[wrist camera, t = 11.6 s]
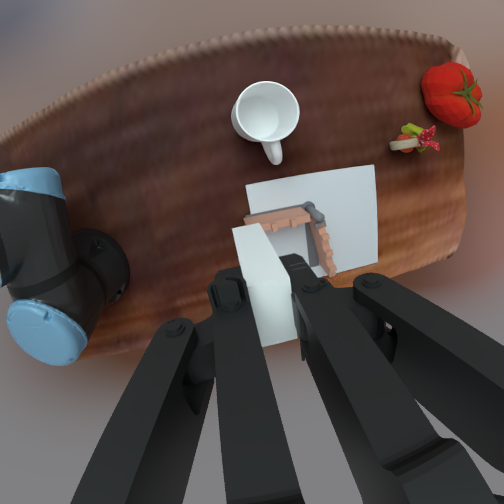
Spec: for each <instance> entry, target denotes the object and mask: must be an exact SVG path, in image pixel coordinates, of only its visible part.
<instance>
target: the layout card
mask: <svg viewBox="0 0 504 504" xmlns="http://www.w3.org/2000/svg"><path fill="white" fill-rule="evenodd" d="M245 186H246V191H247V196H248V202H249V207H250V212H251V214H250V215H245V217H246V218H248V217H252V216H257V215H262V214H267V213H272V212H277V211H282V210H287V209H292V208H297V207H301V208H303V209H304V210H305V206H306V205H311V206H312V207H314V208H315V209H317V210H318V211H319V212H321V213H322V214H324V216H325V219H324V220H325V221H326V227H325V229H326V232H327V233H328V234H329V236H330V239H328V241H329V245H330V248H331V249H332V250H333V254H334V255H332V258H333V263H334V264H335V265H336V267H337V271H335V272H336V273H339V272H342V271H346V270H350V269H354V268H358V267H361V266H365V265H369V264H373V263H376V262H377V260H378V234H377V202H376V185H375V172H374V165H366V166H358V167H351V168H343V169H336V170H329V171H323V172H316V173H310V174H304V175H298V176H292V177H286V178H280V179H275V180H270V181H264V182H259V183H254V184H249V185H245ZM310 216H311V215H310ZM264 232H265V234H266V236H267V237H268V239H269V241H270V243H271V245H272V246H273V248H274V250H275V252H276V254H277V255H278V257H279V256H284V255H288V254H293V253H296V254H298V255H300V256H302V257H303V258H304V260H305V261H306V262H307V264H308V265H309V267H310V268H311V269H312V270H313V272H314V273H315V274H316V276H317V277H318V278H319V277H323V276H327V275H328V274H327V273H326V272H325V271H324V269H323V268H322V267H321V266H320V262H319V258H318V254H317V250H316V246H315V243H314V239H313V235H312V231H311V228H310V224H309V222H306V223H302V224H297V227H295V228H292V227H291V226H287V227H282V228H278V231H276V232H273V231H272V230H268V231H264Z"/></svg>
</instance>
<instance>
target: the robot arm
mask: <svg viewBox="0 0 504 504" xmlns="http://www.w3.org/2000/svg"><path fill="white" fill-rule="evenodd" d="M65 201H66V197H65V196H64V195H63V190H62V185H61V180H60V176H59V174H58V172H57V171H56V170H54V169H52V168H48V167H39V168H28V169H21V170H15V171H10V172H6V173H2V174H0V288H1V287H3V286H5V285H7V288H8V290H9V293H10V295H11V298H12V301H13V303H12V304H11V305H10V306H9V308H8V311H7V318H6V321H7V326H8V329H9V331H10V333H11V335H12V337H13V338H14V340H15V341H16V342H17V343H18V345H19V346H20V347H21V348H22V349H23V350H24V351H25V352H27V353H28V354H29V355H31V356H32V357H34V358H36V359H37V360H39V361H41V362H43V363H46V364H49V365H54V366H65V365H69V364H71V363H73V362H74V361H76V360H77V359H78V357H79V355H80V354H81V352H82V350H83V349H84V348H85V347H86V346H87V343H88V340H89V338H90V336H91V334H92V332H93V330H94V327H95V325H96V323H97V321H98V319H99V317H100V315H101V313H102V311H103V309H105V308H107V307H108V306H110V305H112V304H113V303H115V302H116V301H117V300H118V299H119V298H120V297H121V296H122V294H123V292H124V290H125V288H126V286H127V284H128V280H129V265H128V261H127V258H126V256H125V254H124V252H123V250H122V249H121V247H120V246H119V245H118V243H117V242H116V241H115V240H113V239H112V238H111V237H110V236H108V235H107V234H105V233H103V232H100V231H97V230H93V229H84V230H80V231H77V232H75V233H73V234H72V233H71V229H70V224H69V220H68V215H67V210H66V204H65ZM232 230H233V235H234V240H235V244H236V249H237V254H238V258H239V263H240V266H238V267H233V268H229V269H224V270H220V271H218V273H217V274H216V276H215V280H214V281H213V282H211V283H210V284H209V285H208V287H207V293H208V296H209V299H210V303H211V306H212V309H213V314H212V315H211V316H210V317H209V318H207V319H206V320H204V321H202V322H200V323H197V324H195V325H194V324H193V322H192V321H191V320H189V319H187V318H177V319H172V320H169V321H167V322H166V323H164V324H163V325H161V326H160V328H159V329H158V330H157V332H156V333H155V335H154V337H153V339H152V341H151V342H150V344H149V346H148V348H147V350H146V352H145V353H144V355H143V357H142V359H141V361H140V363H139V364H138V366H137V368H136V370H135V372H134V374H133V376H132V377H131V379H130V381H129V383H128V385H127V387H126V389H125V391H124V393H123V394H122V396H121V398H120V400H119V402H118V404H117V406H116V408H115V410H114V412H113V414H112V416H111V418H110V420H109V422H108V424H107V426H106V428H105V430H104V432H103V434H102V436H101V438H100V440H99V442H98V444H97V446H96V448H95V450H94V453H93V455H92V457H91V459H90V461H89V463H88V466H87V467H86V470H85V472H84V474H83V476H82V478H81V481H80V483H79V485H78V487H77V490H76V492H75V494H74V496H73V499H72V501H71V504H182V503H183V499H184V495H185V491H186V487H187V484H188V480H189V476H190V472H191V468H192V464H193V460H194V457H195V453H196V449H197V446H198V441H199V438H200V434H201V430H202V427H203V423H204V419H205V415H206V411H207V408H208V404H209V400H210V396H211V392H212V389H213V385H214V377H216V389H217V403H218V417H219V429H220V441H221V453H222V463H223V473H224V482H225V491H226V500H227V504H305V502H304V500H303V497H302V493H301V490H300V487H299V483H298V479H297V476H296V472H295V469H294V465H293V461H292V458H291V454H290V450H289V447H288V443H287V440H286V436H285V432H284V428H283V425H282V421H281V417H280V414H279V410H278V406H277V402H276V398H275V395H274V391H273V387H272V384H271V380H270V376H269V372H268V368H267V364H266V360H265V357H264V353H263V349H262V347H264V346H269V345H273V344H277V343H281V342H285V341H289V340H293V339H296V338H297V332H298V334H299V337H300V346H301V356H302V361H304V360H305V358H306V361H307V364H308V366H309V368H310V371H311V373H312V376H313V378H314V381H315V383H316V385H317V388H318V390H319V393H320V395H321V398H322V400H323V403H324V405H325V407H326V410H327V412H328V415H329V417H330V419H331V422H332V425H333V427H334V429H335V432H336V434H337V437H338V439H339V442H340V444H341V447H342V449H343V452H344V454H345V457H346V459H347V462H348V464H349V467H350V469H351V472H352V474H353V477H354V479H355V482H356V484H357V487H358V489H359V492H360V494H361V497H362V500H363V504H504V496H500V495H496V494H493V493H492V492H491V490H490V488H489V486H488V485H487V483H486V481H485V480H484V478H483V476H482V475H481V473H480V472H479V470H478V468H477V467H476V465H475V463H474V462H473V460H472V459H471V457H470V456H469V454H468V453H467V451H466V449H465V448H464V447H463V446H462V445H461V444H460V442H458V441H457V440H455V439H453V438H442V437H440V436H439V435H438V434H437V433H436V431H435V430H434V428H433V426H432V425H431V423H430V422H429V420H428V419H427V417H426V416H425V414H424V413H423V411H422V410H421V408H420V407H419V405H418V404H417V402H416V401H415V399H416V400H417V401H418V402H419V403H420V404H421V405H422V406H424V407H425V408H426V409H427V410H428V411H429V412H430V413H431V414H433V415H434V416H435V417H436V418H437V419H438V420H439V421H441V422H442V423H443V424H444V425H445V426H446V427H447V428H449V429H450V430H451V431H452V432H453V433H454V434H455V435H457V436H458V437H459V438H460V439H461V440H462V441H463V442H464V443H466V444H467V445H468V446H469V447H470V448H471V449H472V450H474V451H475V452H476V453H477V454H478V455H479V456H480V457H482V458H483V459H484V460H485V461H486V462H488V463H489V464H490V465H491V466H493V467H494V468H495V469H497V470H499V471H501V472H503V473H504V346H503V345H501V344H500V343H498V342H497V341H495V340H493V339H492V338H490V337H489V336H487V335H485V334H484V333H482V332H480V331H479V330H477V329H476V328H474V327H472V326H471V325H469V324H468V323H466V322H464V321H463V320H461V319H459V318H457V317H456V316H454V315H452V314H451V313H449V312H447V311H446V310H444V309H442V308H441V307H439V306H437V305H435V304H434V303H432V302H430V301H429V300H427V299H425V298H423V297H421V296H420V295H418V294H416V293H415V292H413V291H411V290H409V289H407V288H406V287H404V286H402V285H400V284H398V283H397V282H395V281H393V280H391V279H389V278H388V277H386V276H384V275H381V274H378V273H365V274H362V275H359V276H358V277H356V278H355V279H354V281H353V287H346V288H334V287H333V286H332V285H331V283H330V282H329V281H327V280H326V279H323V278H318V277H317V276H316V274H315V273H314V272H313V270H312V269H311V268H310V267H309V265H308V264H307V262H306V261H305V260H304V258H303V257H302V256H300V255H298V254H296V253H293V254H288V255H284V256H279V257H278V255H277V254H276V252H275V250H274V248H273V246H272V245H271V243H270V241H269V239H268V237H267V236H266V234H265V232H264V230H263V229H262V227H261V225H260V223H256V224H251V225H246V226H242V227H237V228H232ZM386 322H387V323H389V324H390V325H391V326H392V329H389V328H388V327H386ZM296 330H297V331H296Z"/></svg>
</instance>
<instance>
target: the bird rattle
mask: <svg viewBox="0 0 504 504" xmlns="http://www.w3.org/2000/svg"><path fill="white" fill-rule="evenodd" d="M401 131H402V133H403V134H401V135H399V136H398V138H397V140H396V141H392V142H390V143H389V146H390V149H391V150H400V151H402V152H405V153H407V152H411V151H412V150H413V149H414V147H415V148H416V149H417V151H418V152H421V153H422V150H425V149H426V146H432V147H433V148H434V149H435V150H437V151H439V150H440V149H439V144H438V143H437V142H435V141H431V140H430V139H431V138H432V137H434V135H435V131H436V126H435V125H434V126H432V127H431V128H430V129H429V130H427V129H423V128H420V127H417V126H415V125H414V124H411V123H408V125H406V126H402V128H401Z"/></svg>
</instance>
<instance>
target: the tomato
mask: <svg viewBox="0 0 504 504" xmlns="http://www.w3.org/2000/svg"><path fill="white" fill-rule="evenodd" d="M476 83H477V80H476V82H475V81H474V78H473V75H472V73H471V70H469V69H468V68H466V67H465V66H463V65H461V64H458V63H454V62H449V63H444V64H443V65H441V66H435V67H431V68H430V69H428V70H427V71H426V73H425V74H424V76H423V78H422V81H421V89H422V92H423V95H424V100H425V104H426V106H427V108H428V109H429V111H430V112H431V113H432V114H433V115H434V116H435V117H436V118H437V119H438V120H440V121H443V122H445V123H448V124H450V125H452V126H454V127H457V128H468V127H471V126H473V125H476V124H477V122H478V121H479V120H480V118H481V112H480V108H479V106H478V105H480V106H481V104H480V103H479V101H480V99H481V97H482V93H481V89H480V87H479V86H478V85H477V84H476ZM481 108H482V106H481Z"/></svg>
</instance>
